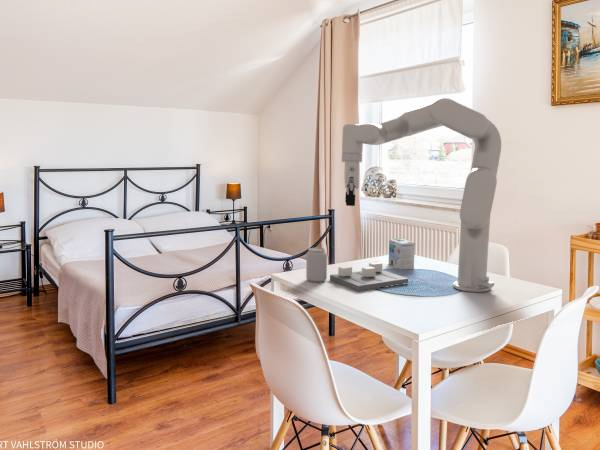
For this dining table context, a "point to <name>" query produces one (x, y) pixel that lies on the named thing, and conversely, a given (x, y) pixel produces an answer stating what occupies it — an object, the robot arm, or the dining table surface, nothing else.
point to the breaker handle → (368, 271)
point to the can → (316, 265)
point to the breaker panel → (366, 278)
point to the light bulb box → (401, 253)
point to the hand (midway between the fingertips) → (349, 204)
